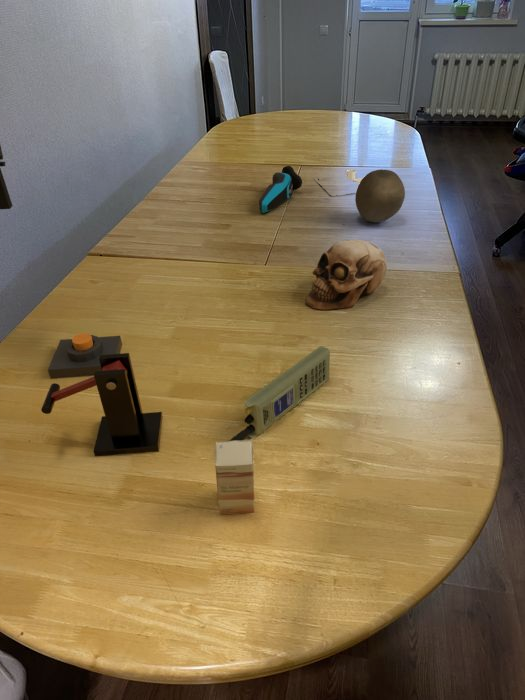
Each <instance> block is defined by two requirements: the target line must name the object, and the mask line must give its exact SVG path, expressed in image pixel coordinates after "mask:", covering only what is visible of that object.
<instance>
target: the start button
mask: <svg viewBox="0 0 525 700" xmlns="http://www.w3.org/2000/svg"><path fill="white" fill-rule="evenodd" d="M91 335H92V334H89V333H79V334H76V335H75V336H73V337H72V338H71V339H72V342H73V346H74V349H75V350H77V351H82V350H87V349H89V348H91V347H92V346H93V341H92V337H91Z"/></svg>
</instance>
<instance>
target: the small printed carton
mask: <svg viewBox="0 0 525 700" xmlns="http://www.w3.org/2000/svg"><path fill="white" fill-rule="evenodd" d="M214 446H215V447H214V466H215V467H214V468H215V479H216V491H217V502H218V510H219V511H218V513H219V515H239V514H240V515H241V514H250V513H251V514H252V513H255V465H254V443H253V440H252V439H249V440H246V439H244V440H241V441H239V440H238V441H237V440H236V441H229V440H227V441H226V440H225V441H216V442H215V445H214Z"/></svg>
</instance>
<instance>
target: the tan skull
mask: <svg viewBox="0 0 525 700" xmlns="http://www.w3.org/2000/svg"><path fill="white" fill-rule="evenodd" d="M386 259H387V258H386V256H385V254H384V252H383V251H382V250H381V248H380V247H378V246H377V245H375V244H374V243H372V242H369V241H366V240H363V239H347V240H341V241H337V242H335V243H333V245H331V246H330V247H329V248H328V250H327V251H325V252H323V253H322V254H321V256H320V258H319V260H318V262H317V265H316V267H315V269H314V270H312V275H313V276H315V279H314V280H313V282H312V285H311V290H310V291H309V293H308V294H307V295H306V297H305V299H304V303H305V304H306V305H308V306H309V307H310V308H312V309H316V310H321V311H327V310H334V309H337V310H340V309H343V308H346V309H348V308H352V307H353V306H354V305H355V304H356V303H357V301H358V300H359V298H360V296H367V295H371V294H372V293H373V292H375V291H376V290H377V289H378V288H379V287H380V286H381V284H382V283H383V281H384V279H385V276H386V272H387V267H388V265H387V260H386Z"/></svg>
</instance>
